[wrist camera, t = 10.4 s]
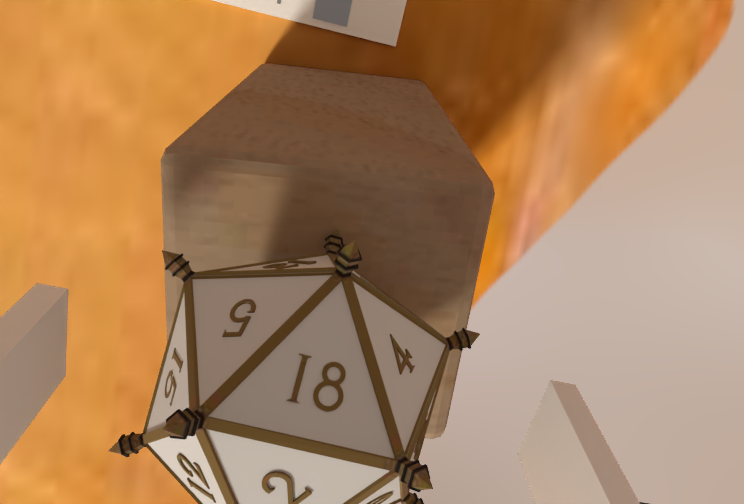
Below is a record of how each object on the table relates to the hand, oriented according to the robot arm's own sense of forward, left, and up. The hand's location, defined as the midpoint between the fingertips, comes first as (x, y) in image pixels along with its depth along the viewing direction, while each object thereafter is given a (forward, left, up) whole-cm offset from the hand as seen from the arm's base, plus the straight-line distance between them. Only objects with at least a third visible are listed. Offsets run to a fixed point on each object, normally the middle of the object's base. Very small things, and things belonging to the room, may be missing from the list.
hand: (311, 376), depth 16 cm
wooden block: (0, 0, -24) cm, 24 cm away
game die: (0, 0, -4) cm, 4 cm away
